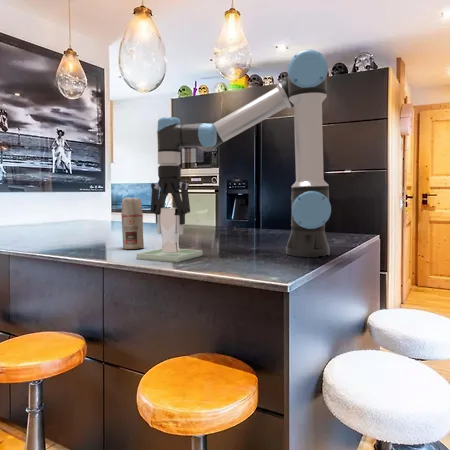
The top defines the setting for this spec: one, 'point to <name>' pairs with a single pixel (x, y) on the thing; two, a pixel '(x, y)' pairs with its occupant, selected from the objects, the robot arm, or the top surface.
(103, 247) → the top surface
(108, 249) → the top surface
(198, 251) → the tray
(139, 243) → the spray can
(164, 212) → the beer glass
